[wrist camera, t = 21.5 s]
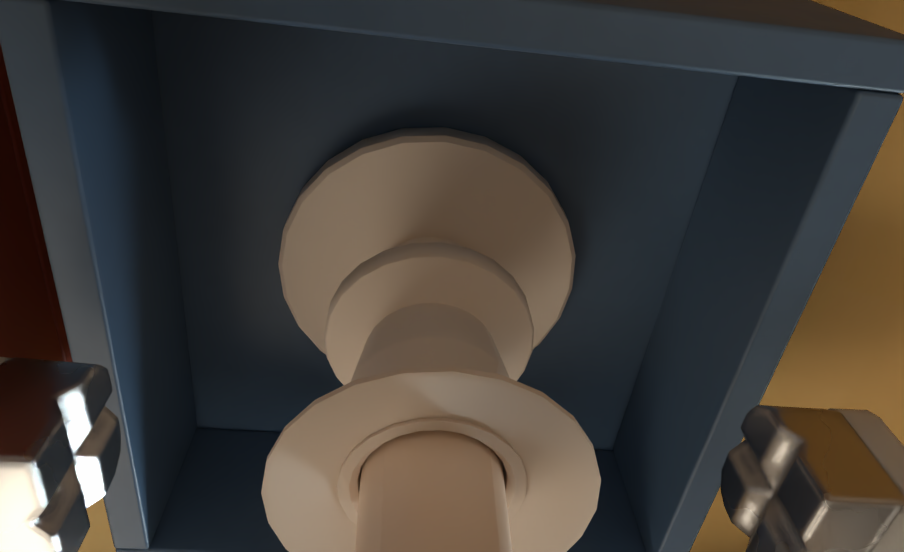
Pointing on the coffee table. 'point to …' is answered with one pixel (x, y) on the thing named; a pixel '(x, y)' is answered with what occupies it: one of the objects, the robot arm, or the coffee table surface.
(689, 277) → the blue bin
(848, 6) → the coffee table surface
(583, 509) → the candle
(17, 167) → the red bin
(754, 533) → the robot arm
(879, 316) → the coffee table surface
